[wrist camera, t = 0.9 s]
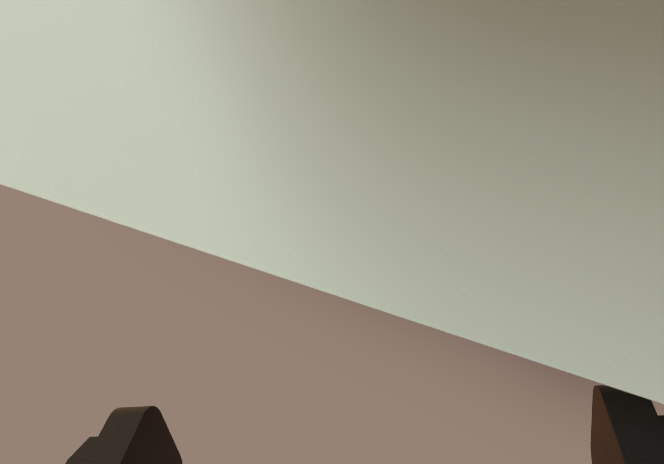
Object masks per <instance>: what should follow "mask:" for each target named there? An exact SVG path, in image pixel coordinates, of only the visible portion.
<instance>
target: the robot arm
mask: <svg viewBox="0 0 664 464" xmlns="http://www.w3.org/2000/svg"><path fill="white" fill-rule="evenodd" d="M591 457H592V464H664V416H663V415H662V416H658V415H657V413H656V411H655V408H654V406H653V404H652V401H651V400H649V399H646V398H643V397H640V396H637V395H634V394H631V393H628V392H625V391H622V390H619V389H616V388H613V387H610V386H607V385H599V386H594V389H593V403H592V425H591ZM66 464H182V459H181V456H180V454H179V451H178V449H177V447H176V445H175V443H174V440H173V438H172V436H171V434H170V432H169V429H168V428H167V425H166V423H165V421H164V419H163V416H162V414H161V412H160V410H159V409H158V408H157V407H155V406H144V407H124V408H117V409H115V410H114V411H113V412H112V413H111V414H110V416H109V418H108V419H107V421H106V423H105V425H104V427H103V429H102V431H101V433H100V434H99V436H98V437H89V438H88V439H87V441H86V442H85V443H84V444H83V445H82V446H81V447H80V448H79V449H78V450H77V451H76V452H75V453H74V454H73V455H72V456H71V457H70V458H69V459H68V460H67V462H66Z"/></svg>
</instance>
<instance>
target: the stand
mask: <svg viewBox="0 0 664 464" xmlns="http://www.w3.org/2000/svg"><path fill="white" fill-rule="evenodd" d="M0 184H2V185H5V186H8V187H11V188H14V189H17V190H20V191H23V192H26V193H29V194H32V195H35V196H38V197H41V198H44V199H47V200H50V201H53V202H56V203H59V204H62V205H65V206H68V207H71V208H74V209H77V210H80V211H83V212H86V213H89V214H92V215H96V216H98V217H101V218H104V219H107V220H110V221H113V222H116V223H119V224H122V225H125V226H129V227H131V228H134V229H137V230H141V231H143V232H147V233H149V234H153V235H155V236H158V237H161V238H164V239H167V240H171V241H174V242H176V243H179V244H182V245H185V246H188V247H192V248H195V249H197V250H200V251H204V252H207V253H210V254H213V255H216V256H219V257H222V258H225V259H228V260H231V261H234V262H237V263H240V264H243V265H246V266H249V267H252V268H255V269H258V270H261V271H264V272H267V273H270V274H273V275H276V276H279V277H282V278H285V279H288V280H291V281H294V282H297V283H300V284H303V285H306V286H309V287H312V288H315V289H318V290H321V291H324V292H327V293H330V294H333V295H336V296H339V297H342V298H346V299H348V300H351V301H354V302H357V303H360V304H363V305H366V306H369V307H372V308H375V309H378V310H381V311H384V312H387V313H390V314H393V315H396V316H399V317H402V318H405V319H408V320H411V321H415V322H418V323H421V324H424V325H427V326H430V327H433V328H436V329H439V330H442V331H445V332H448V333H451V334H454V335H457V336H460V337H463V338H466V339H469V340H472V341H475V342H478V343H481V344H484V345H487V346H490V347H493V348H496V349H499V350H502V351H505V352H508V353H511V354H514V355H517V356H520V357H523V358H526V359H529V360H532V361H535V362H538V363H541V364H544V365H547V366H550V367H553V368H556V369H559V370H562V371H565V372H568V373H571V374H574V375H577V376H580V377H583V378H586V379H589V380H592V381H596V382H598V383H601V384H604V385H607V386H610V387H613V388H616V389H619V390H622V391H625V392H628V393H631V394H634V395H637V396H640V397H643V398H646V399H649V400H652V401H656V402H658V403H661V404H664V0H0Z"/></svg>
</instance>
